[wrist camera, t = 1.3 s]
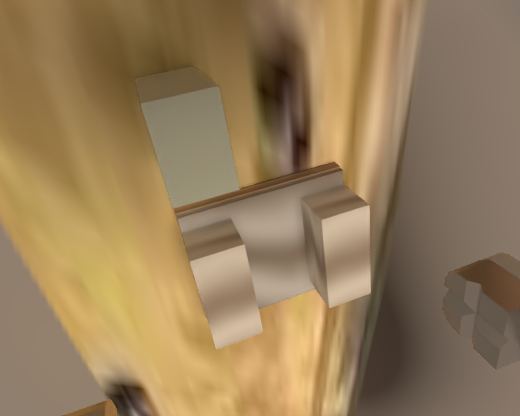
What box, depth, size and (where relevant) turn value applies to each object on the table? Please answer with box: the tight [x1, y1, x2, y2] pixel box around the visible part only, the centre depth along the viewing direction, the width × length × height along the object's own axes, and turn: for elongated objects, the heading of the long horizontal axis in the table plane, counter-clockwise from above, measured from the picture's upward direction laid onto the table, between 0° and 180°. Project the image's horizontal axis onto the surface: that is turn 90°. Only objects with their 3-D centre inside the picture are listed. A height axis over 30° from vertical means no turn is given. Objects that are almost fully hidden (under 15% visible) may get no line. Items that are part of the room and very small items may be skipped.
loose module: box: [135, 66, 240, 209], centre depth 24 cm, size 6×4×8 cm, turn 10°
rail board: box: [174, 162, 371, 349], centre depth 33 cm, size 12×14×6 cm
